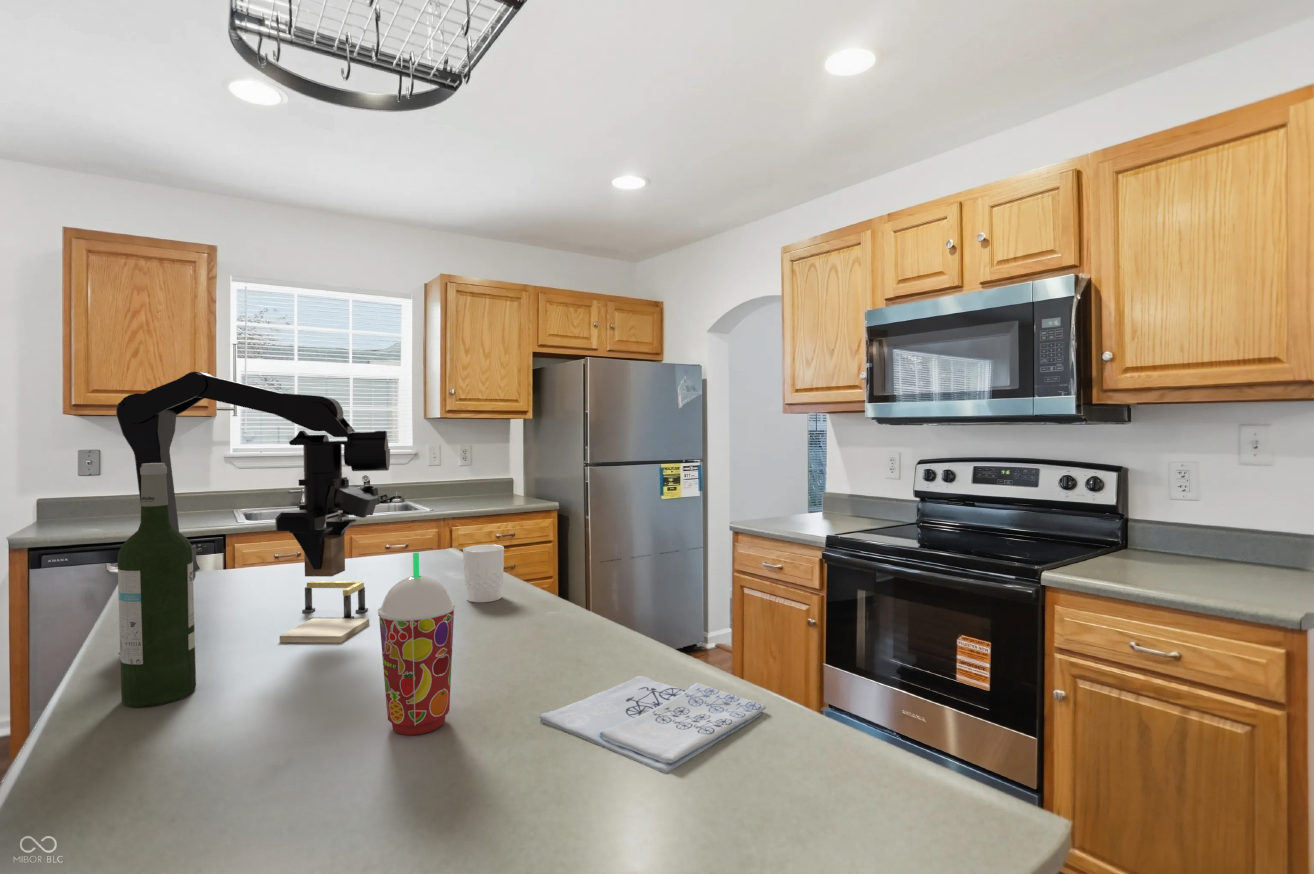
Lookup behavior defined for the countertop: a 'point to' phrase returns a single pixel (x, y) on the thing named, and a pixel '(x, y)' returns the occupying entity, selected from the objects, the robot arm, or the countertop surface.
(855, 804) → the countertop surface
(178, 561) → the wine bottle
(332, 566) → the walnut block
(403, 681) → the smoothie
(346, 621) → the birch pad
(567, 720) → the folded bicycle towel
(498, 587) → the white cup
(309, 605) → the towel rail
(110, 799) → the countertop surface
